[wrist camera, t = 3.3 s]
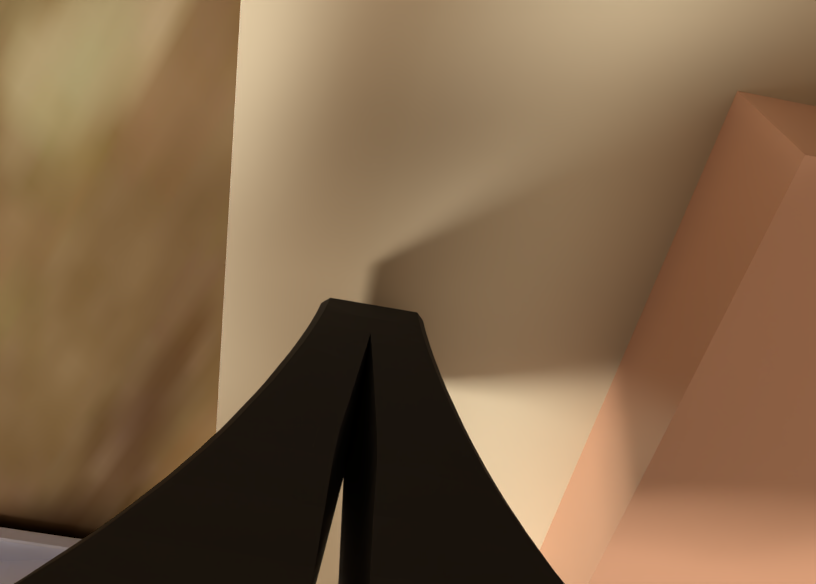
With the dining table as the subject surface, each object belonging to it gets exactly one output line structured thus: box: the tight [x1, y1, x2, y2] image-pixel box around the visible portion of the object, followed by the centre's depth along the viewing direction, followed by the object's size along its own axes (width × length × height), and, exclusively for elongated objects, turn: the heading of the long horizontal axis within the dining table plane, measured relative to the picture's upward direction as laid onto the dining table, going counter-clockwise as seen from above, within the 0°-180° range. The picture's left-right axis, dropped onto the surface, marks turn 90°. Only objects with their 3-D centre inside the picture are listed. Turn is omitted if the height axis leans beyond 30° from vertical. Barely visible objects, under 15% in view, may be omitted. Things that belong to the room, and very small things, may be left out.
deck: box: [216, 0, 816, 584], centre depth 13 cm, size 16×14×4 cm
